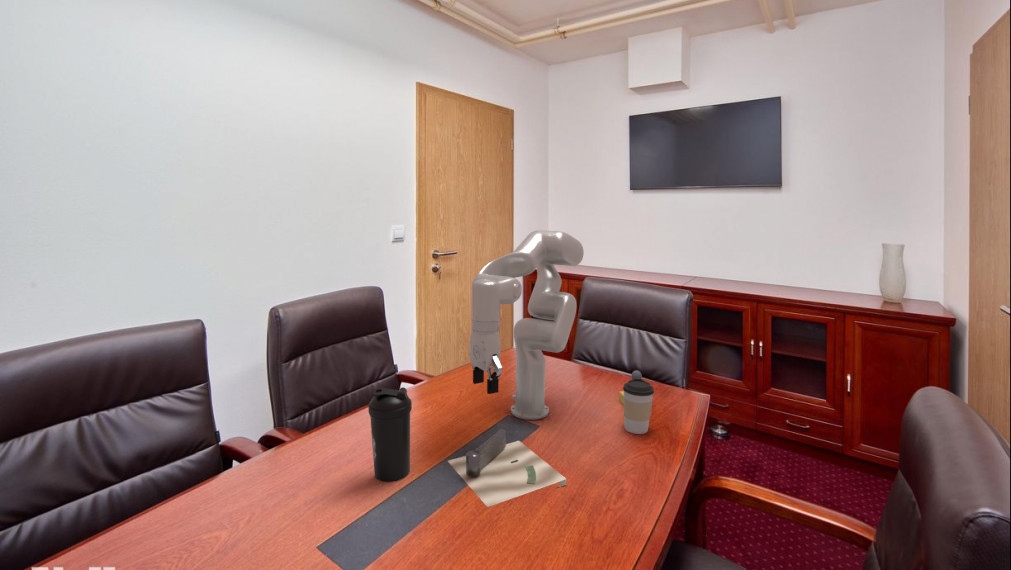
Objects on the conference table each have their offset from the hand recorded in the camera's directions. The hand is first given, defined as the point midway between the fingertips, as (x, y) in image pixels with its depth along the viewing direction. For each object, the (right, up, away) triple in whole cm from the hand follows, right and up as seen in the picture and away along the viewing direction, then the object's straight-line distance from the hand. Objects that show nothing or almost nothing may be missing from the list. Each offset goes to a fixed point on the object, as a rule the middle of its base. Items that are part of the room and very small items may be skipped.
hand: (485, 387), depth 130 cm
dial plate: (+5, -20, -10) cm, 23 cm away
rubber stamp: (+51, -13, +34) cm, 63 cm away
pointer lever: (+1, -17, -7) cm, 19 cm away
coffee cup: (+46, -16, +16) cm, 51 cm away
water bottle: (-23, -20, -12) cm, 33 cm away
